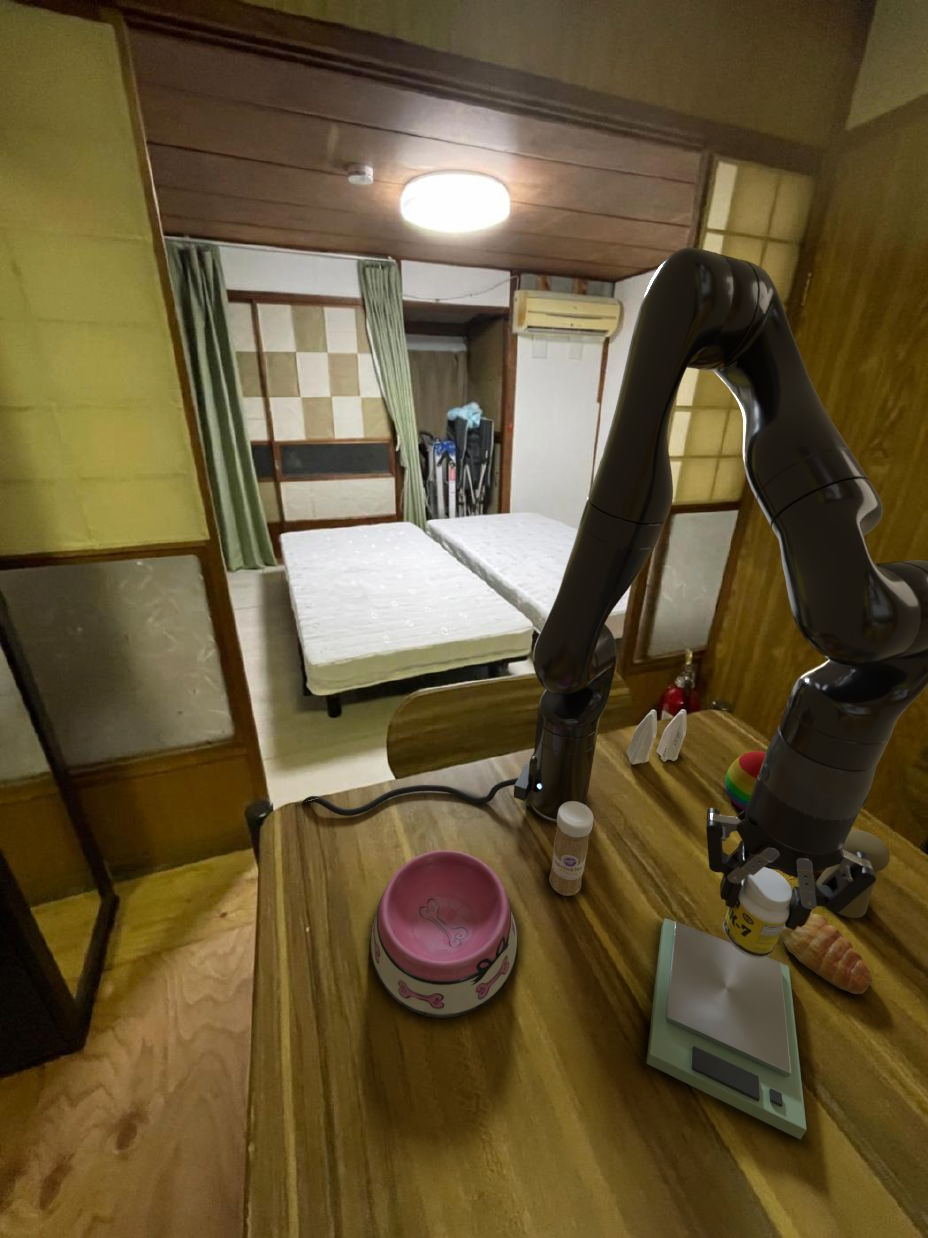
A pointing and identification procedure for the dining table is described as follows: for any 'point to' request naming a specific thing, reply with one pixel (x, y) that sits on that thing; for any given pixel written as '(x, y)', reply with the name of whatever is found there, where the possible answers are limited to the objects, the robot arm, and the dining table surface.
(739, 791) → the decorative egg
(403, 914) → the dog bowl
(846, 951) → the pastry
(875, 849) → the cork
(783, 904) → the supplement bottle
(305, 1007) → the dining table surface
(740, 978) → the scale pan
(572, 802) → the sprinkles bottle
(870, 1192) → the dining table surface
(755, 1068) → the scale base
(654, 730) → the shaker set
